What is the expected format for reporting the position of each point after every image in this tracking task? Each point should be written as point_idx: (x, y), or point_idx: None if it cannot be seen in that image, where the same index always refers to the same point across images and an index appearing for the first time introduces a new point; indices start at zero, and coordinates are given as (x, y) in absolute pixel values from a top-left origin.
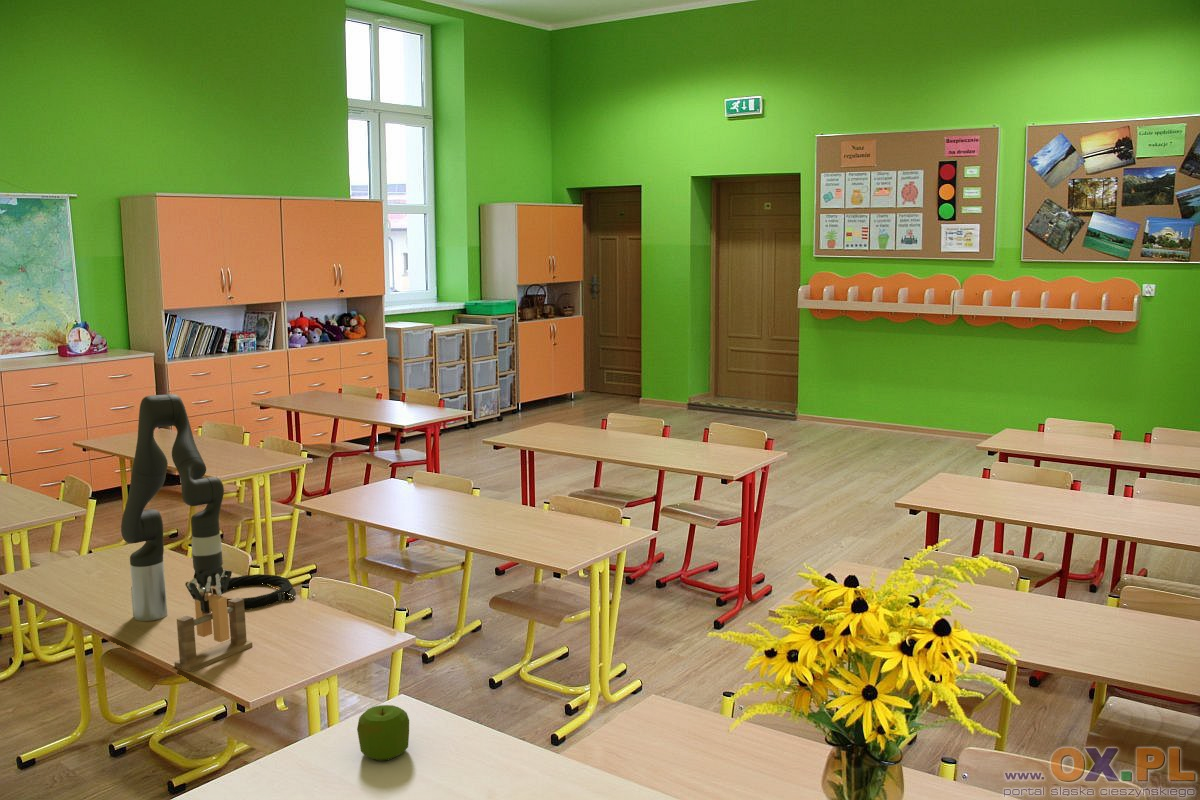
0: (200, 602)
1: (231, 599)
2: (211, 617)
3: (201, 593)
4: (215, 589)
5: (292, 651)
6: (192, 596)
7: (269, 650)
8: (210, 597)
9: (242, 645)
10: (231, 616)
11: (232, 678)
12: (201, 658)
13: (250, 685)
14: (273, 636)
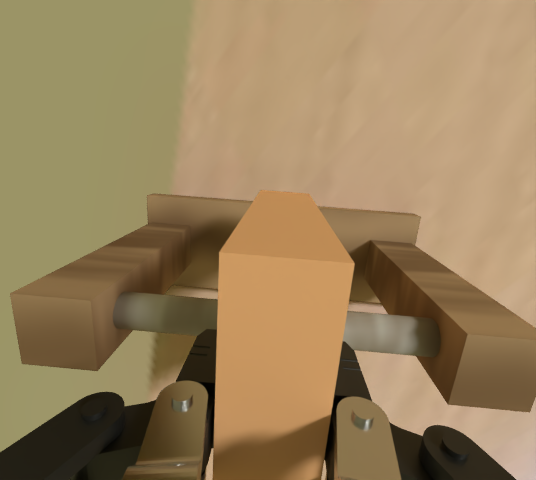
0: (176, 380)
1: (500, 338)
2: None
3: (166, 459)
4: (381, 470)
5: (407, 425)
6: (39, 438)
7: (388, 365)
8: (235, 476)
9: (364, 296)
10: (410, 302)
11: None
12: (216, 257)
13: None
14: (499, 297)
